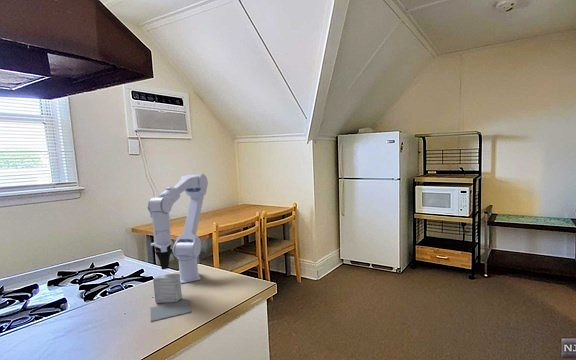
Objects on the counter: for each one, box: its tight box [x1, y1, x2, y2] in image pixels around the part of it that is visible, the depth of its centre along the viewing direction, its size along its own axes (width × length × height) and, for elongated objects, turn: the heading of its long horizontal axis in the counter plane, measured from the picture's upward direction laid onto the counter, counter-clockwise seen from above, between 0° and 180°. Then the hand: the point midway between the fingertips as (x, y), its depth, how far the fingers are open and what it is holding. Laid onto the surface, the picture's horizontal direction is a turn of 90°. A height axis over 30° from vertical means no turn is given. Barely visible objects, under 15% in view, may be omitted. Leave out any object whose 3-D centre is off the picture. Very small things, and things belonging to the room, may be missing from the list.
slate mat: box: [150, 299, 192, 323], centre depth 107 cm, size 10×12×1 cm
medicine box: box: [152, 273, 183, 304], centre depth 114 cm, size 8×4×9 cm, turn 84°
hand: (164, 266), depth 119 cm, fingers open, 4 cm apart
